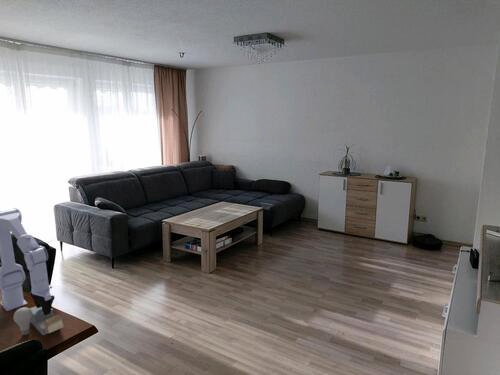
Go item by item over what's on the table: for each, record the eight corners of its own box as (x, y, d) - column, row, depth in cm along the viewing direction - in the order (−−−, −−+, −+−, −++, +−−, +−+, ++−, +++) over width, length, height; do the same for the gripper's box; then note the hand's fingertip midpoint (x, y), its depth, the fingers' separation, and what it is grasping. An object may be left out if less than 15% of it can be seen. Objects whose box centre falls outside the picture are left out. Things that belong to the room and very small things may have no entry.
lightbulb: (26, 340, 134) (22, 313, 132) (12, 338, 136) (8, 311, 133) (39, 330, 140) (35, 305, 138) (25, 328, 141) (21, 303, 139)
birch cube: (45, 319, 134) (49, 332, 134) (59, 314, 138) (63, 326, 137) (42, 321, 138) (45, 334, 137) (55, 315, 141) (59, 328, 141)
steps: (29, 321, 146) (27, 309, 145) (47, 314, 151) (45, 302, 150) (43, 335, 137) (41, 322, 136) (60, 327, 142) (59, 314, 141)
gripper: (57, 280, 138) (61, 312, 141) (43, 269, 147) (47, 300, 150) (37, 287, 133) (42, 320, 136) (23, 275, 142) (28, 307, 145)
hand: (43, 310), depth 143 cm, fingers open, 7 cm apart
